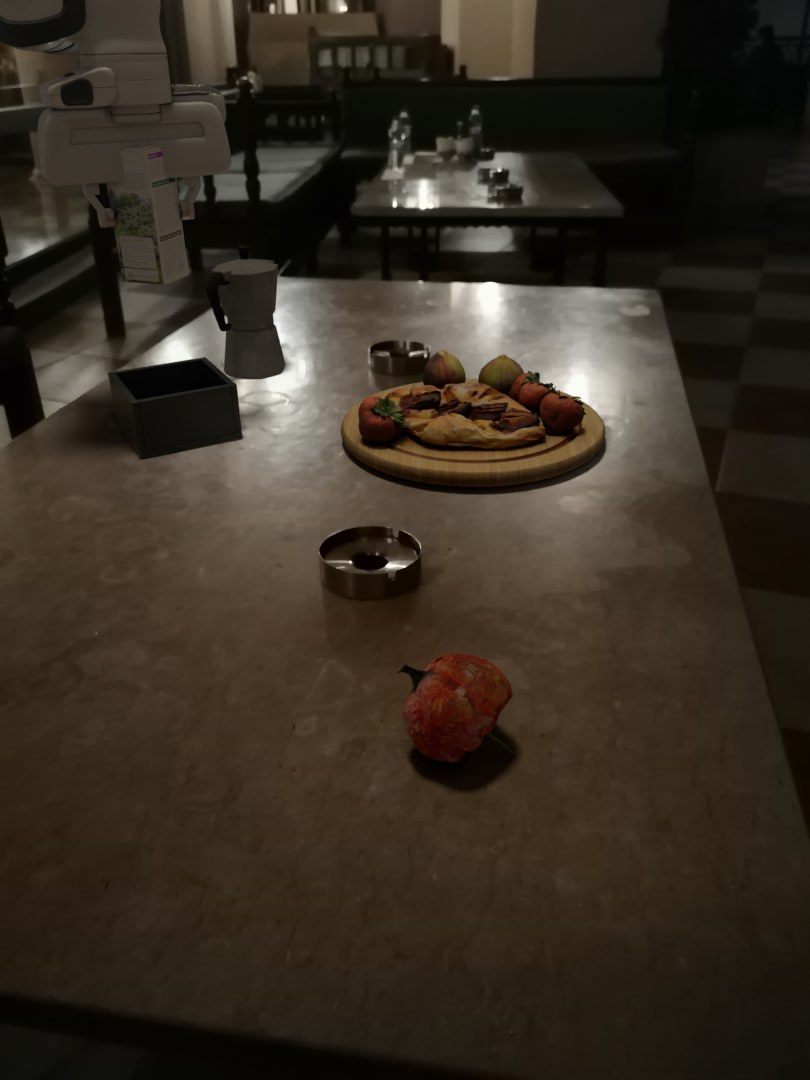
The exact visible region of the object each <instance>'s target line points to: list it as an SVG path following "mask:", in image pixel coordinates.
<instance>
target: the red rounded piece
mask: <svg viewBox="0 0 810 1080" xmlns="http://www.w3.org/2000/svg"><path fill="white" fill-rule="evenodd" d="M399 673H404V674H407V675H408V676H409V677H410V679H411V687H410V690H409V695H408V697H407V699H406V700H405V702H404V704H403V709H402V719H403V724H404V728H405V731H406V733H407V735H408V737H409V739H410V741H411V743H412V744H413V746H414V747H415V748H417V750H418V751H419V752H420V753H421V754H422V755H423V756H425V757H426V758H428V759H431V760H433V761H438V762H445V763H452V764H453V763H454V764H456V763H459V762H460V761H461V760H462V759H463V758H464V757H465V755H466V753H471V752H474V751H475V750H476V749H478V748H479V747H480V746H481V745H482V742H483V740H484V738H485V737H487V738H488V740H490V741H492V742H494V743H496V744H498V745H499V746H500V747H502V748H503V749H504V750H506V751H507V752H508V753H509V754H510V755H512V756H513V757H514V758H515V757H517V756H518V754H517V753H515V752H514V751H512V750H511V749H510V748H509V746H507V745H506V744H505V743H504V742H503V741H501V739H499V738H497V737H496V735H493V734H492V733H491V732H492V731H493V729H494V728H495V726H496V725H497V722H498V720H499V716H500V715H501V713H502V712H503V710H504V709H505V708H506V706H507V705H508V704H509V702H510V700H511V699H513V696H514V695H513V688H512V686H511V683H510V680H509V679H508V678H507V677H506V675H505V674H504V672H503V671H502V670H501V669H500V668H499V667H498V666H497V665H495V664H494V663H492V661H490V660H489V659H486V658H485V657H483V656H481V657H480V656H479V655H474V654H473V655H472V654H471V655H470V654H462V653H448V654H443V655H440V656H438V657H437V658H434V659H433V660H432V661H431V662H430V663H429V664H428V665H427V666H426V668H425V669H424V670H422V669H417V668H415V667H412V666H409V665H408V663H406V662H405V663H404V664H403V665H402V666H401V667H400V668H399V669H398V670H397V671H396V674H399Z"/></svg>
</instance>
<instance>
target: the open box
mask: <svg viewBox="0 0 810 1080" xmlns="http://www.w3.org/2000/svg"><path fill="white" fill-rule="evenodd" d="M107 377H108V381H109V387H110V393H111V397H112V398H111V399H112V404H113V409H114V416H115V420H116V421H115V422H116V425H117V427H118V428H119V430H120V431H121V433H122V434H123V435H124V437H125V438H126V440H127V441H128V442H129V444H130V446H131V447H132V448H133V450H134V451H135V452H136V455H137V456H138V457H139V458H140V460H144V459H148V458H149V459H150V458H153V457H158V456H163V455H164V456H165V455H169V454H173V453H178V452H183V451H188V450H194V449H198V448H202V447H203V448H204V447H209V446H213V445H218V444H223V443H229V442H232V441H237V440H242V439H243V430H242V429H243V428H242V420H241V410H240V402H239V392H238V385H237V384H236V383H235V382H234V380H232V379H231V378H230V376H229V377H228V375H226V374H225V372H224V371H222V370H221V369H220V368H218V367H217V365H215V364H214V363H213V362H212V361H210V359H208V358H207V357H206V356H203V357H197V358H190V359H185V360H179V361H172V362H165V363H160V364H153V365H148V366H141V367H140V366H139V367H135V368H129V369H122V370H116V371H110V372H107Z"/></svg>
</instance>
